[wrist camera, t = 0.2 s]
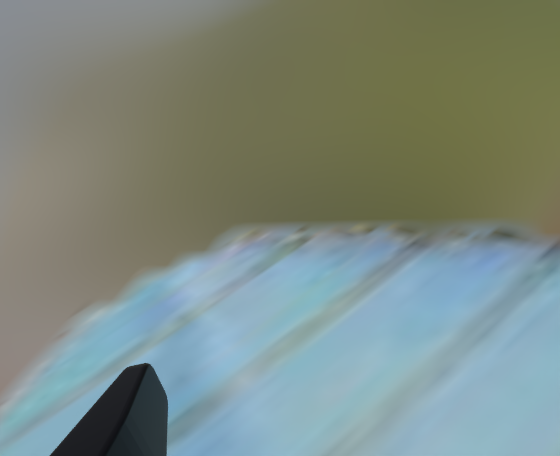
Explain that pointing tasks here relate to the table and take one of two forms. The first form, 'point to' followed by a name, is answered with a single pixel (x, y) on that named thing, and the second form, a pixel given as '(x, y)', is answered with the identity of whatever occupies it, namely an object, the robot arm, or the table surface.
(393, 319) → the table surface
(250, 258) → the table surface
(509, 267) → the table surface
